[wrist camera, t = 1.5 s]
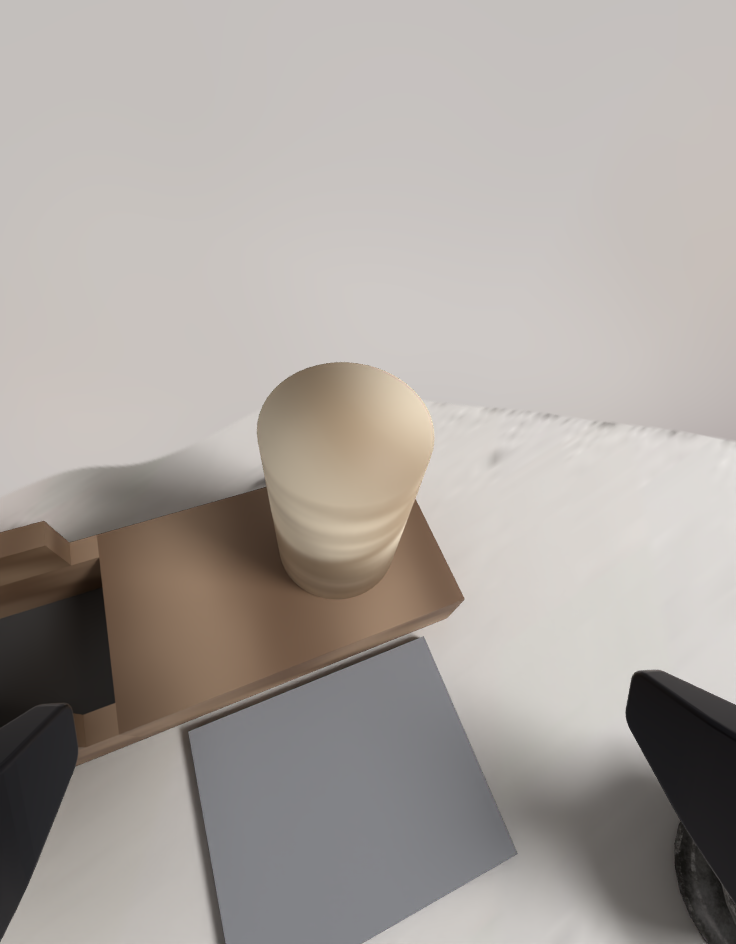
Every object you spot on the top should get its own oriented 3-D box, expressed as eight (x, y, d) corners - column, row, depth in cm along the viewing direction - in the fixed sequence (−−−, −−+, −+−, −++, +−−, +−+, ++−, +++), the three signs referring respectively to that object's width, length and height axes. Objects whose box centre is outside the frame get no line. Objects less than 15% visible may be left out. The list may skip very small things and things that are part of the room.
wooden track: (384, 482, 25) (398, 425, 20) (447, 617, 21) (479, 583, 17) (-306, 690, 17) (-512, 669, 13) (-382, 948, 14) (-693, 1034, 10)
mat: (422, 638, 21) (423, 636, 20) (513, 851, 17) (517, 853, 17) (190, 732, 18) (188, 731, 18) (240, 1008, 14) (238, 1014, 14)
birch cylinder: (324, 624, 18) (327, 541, 11) (256, 530, 19) (223, 409, 13) (417, 553, 19) (470, 444, 13) (348, 473, 21) (361, 340, 14)
